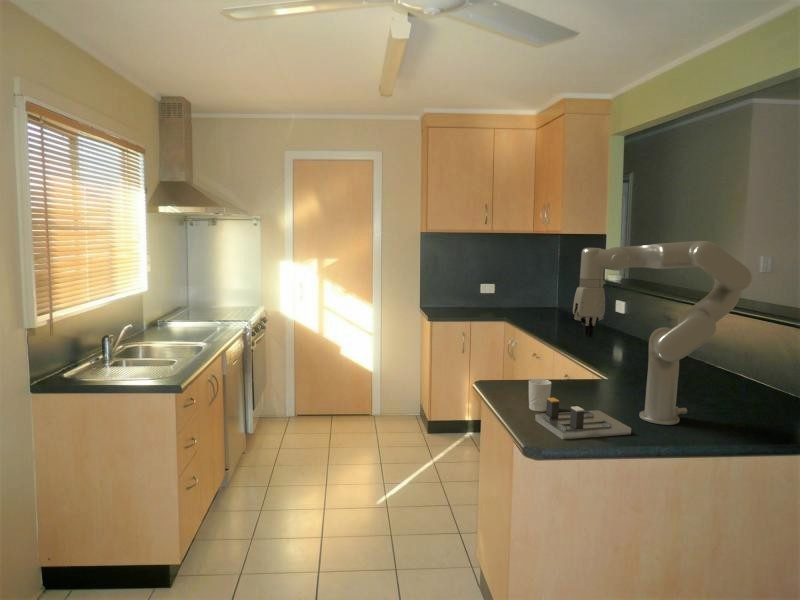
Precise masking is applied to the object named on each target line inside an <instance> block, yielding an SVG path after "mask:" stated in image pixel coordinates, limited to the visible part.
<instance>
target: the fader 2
mask: <svg viewBox="0 0 800 600" xmlns="http://www.w3.org/2000/svg"><path fill="white" fill-rule="evenodd" d="M584 411H585V409H584V408H582V407H580V406H577V405H576V406H570V412H571V415H570V425H571V426H572V427H574V428H575V429H580V428H583V422H584Z"/></svg>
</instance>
